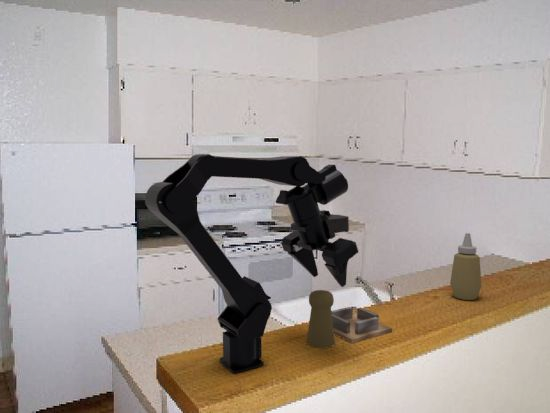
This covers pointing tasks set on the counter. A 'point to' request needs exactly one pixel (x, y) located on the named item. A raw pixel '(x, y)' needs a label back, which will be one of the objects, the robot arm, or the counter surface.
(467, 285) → the squeeze bottle
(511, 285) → the counter surface
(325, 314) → the cork
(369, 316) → the clip holder
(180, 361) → the counter surface
